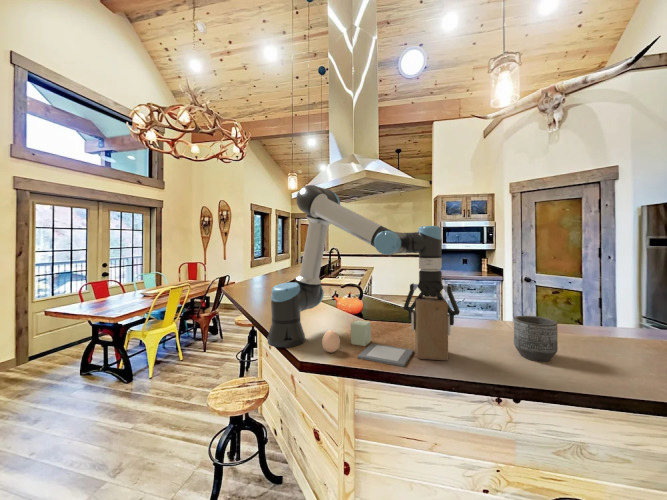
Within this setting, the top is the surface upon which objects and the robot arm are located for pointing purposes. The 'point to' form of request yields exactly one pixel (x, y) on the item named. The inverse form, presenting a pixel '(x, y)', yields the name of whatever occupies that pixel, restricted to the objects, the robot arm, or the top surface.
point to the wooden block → (431, 328)
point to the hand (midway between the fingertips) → (430, 331)
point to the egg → (331, 341)
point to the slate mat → (386, 354)
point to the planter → (535, 337)
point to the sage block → (360, 333)
